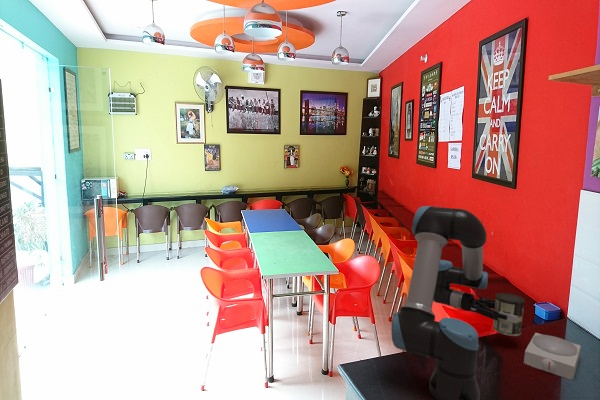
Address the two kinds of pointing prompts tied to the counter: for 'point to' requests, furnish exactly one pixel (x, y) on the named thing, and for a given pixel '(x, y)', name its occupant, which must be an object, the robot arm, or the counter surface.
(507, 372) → the counter surface
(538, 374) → the counter surface
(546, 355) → the kitchen scale
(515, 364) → the counter surface
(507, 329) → the coffee can
